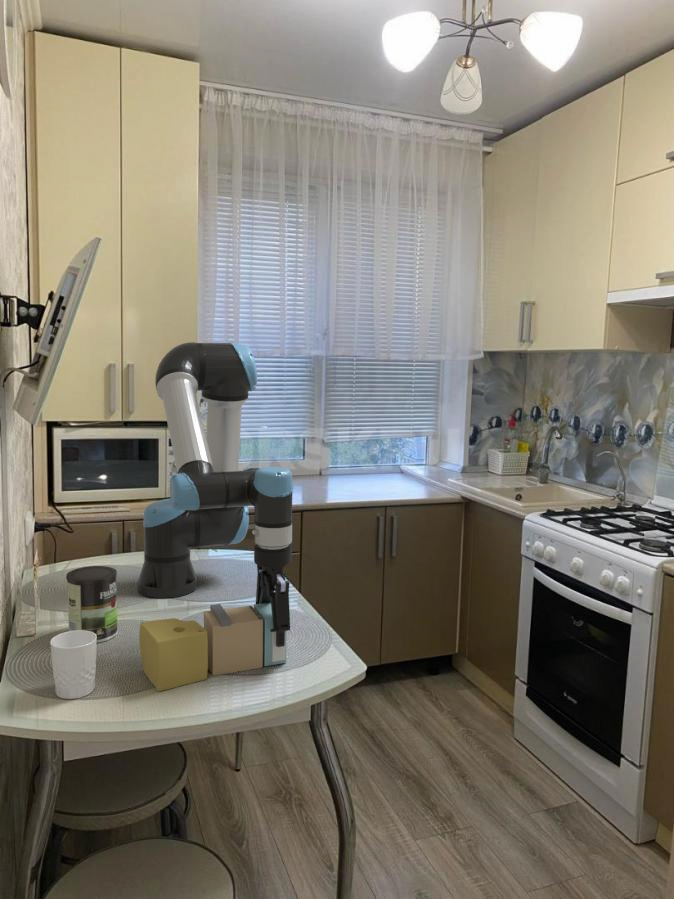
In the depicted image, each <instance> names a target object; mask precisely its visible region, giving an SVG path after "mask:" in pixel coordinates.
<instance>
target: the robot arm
mask: <svg viewBox="0 0 674 899" xmlns="http://www.w3.org/2000/svg"><path fill="white" fill-rule="evenodd" d="M154 382H155V389H156V394H157V395H158V397H159V398H160V400H162V401H163V403H162V404H163V407H164V412H165V416H166V417H165V418H166V422H167V428H168V432H169V438H170V443H171V448H172V452H173V458H174V463H175V464H174V465H175V468H176V472H177V473H174V474H173V475H171V477H170V479H169V494H170V495H169V497H170V498H164V499H160V500H157V501H154V502H152V503H150V504H148V505H147V506H146V507H145V509H144V510H143V522H142V526H143V547H144V548H143V550H144V551H143V552H144V553H143V555H144V556H143V557H144V558H143V564H142V568H141V570H140V573H139V576H138V579H137V591H138V593H140V594H141V595H142V596H145V597H150V598H156V599H157V598H158V599H168V598H169V599H170V598H178V597H183V596H186V595H188V594H191V593H193V592H195V590H196V589H197V588H198V579H197V575H196V572H195V569H194V565H193V563H192V560H191V549H192V548H193V549H195V548H197V549H198V548H206V547H219V546H224V547H225V546H226V547H227V546H230V545H234V544H235V545H236V544H240V543H242V541H243V540H244V539H245V537H246V535H247V533H248V530H249V523H250V517H249V516H250V515H249V513H250V511H249V507H253V508H254V529H252V531H251V534H252V535H254V543H255V545H254V547H253V561H254V564H255V565H256V568H257V569H256V570H257V576H256V593H255V604H263V603H271V609H272V617H273V627H274V629H270V631H271V632H272V658H271V660H272V662H275V661H281V660H285V657H286V658H287V632H288V631H291V618H290V617H291V615H290V614H291V613H290V594H289V591H290V581H289V580H286V575H285V573H284V570H283V569H284V568H285V567H286V566H289V565H290V564H291V562H292V546H291V544H292V543H293V523H292V522H293V492H294V484H293V473H292V471H291V470H290V469H289V468H287V467H281V466H264V467H254V466H250V467H247V468H244V469H242V470H239V465H240V464H239V462H240V446H241V444H240V442H241V426H242V425H241V423H242V406H243V404H244V403H246V401H248V399H249V392H252V391H255V389H256V388H257V384H258V371H257V364H256V360H255V356H254V354H253V351H252V350H251V348H250V347H249V346H248V345H246V344H241V343H240V344H239V343H232V342H191V341H189V342H183V343H181V344H179V345H176V346H174V347H173V348H172V349H170V350H169V351H168V352H167V353H166V354H165V356H164V357H163V358H161V361H160V362H159V364H158V367H157V369H156V372H155V381H154ZM198 391H201V398H202V399H203V400H204V401H205V402H206V403H207V405H206V406H207V408H206V409H207V410H206V411H207V412H206V432H205V427H204V422H203V418H202V416H201V415H202V414H201V411H200V410H201V409H200V406H199V402H198V398H197V393H198ZM286 631H287V632H286Z"/></svg>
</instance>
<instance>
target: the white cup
mask: <svg viewBox="0 0 674 899" xmlns="http://www.w3.org/2000/svg"><path fill="white" fill-rule="evenodd" d="M97 644H98V643H97V636H96V634H95V633H93V632H91V631H86V630H75V631H69V630H68V631H65V632H61V633H59V634H57V635H54V637H52V638H51V639H50V655H51V656H50V657H51V665H52V675H53V681H54V691H55V694H56V696H57V697H58V698H61V699H64V700H75V699H80V698H83V697H86V696H88V695H89V694H92V693H93V691H94V689H95V688H96V673H97Z"/></svg>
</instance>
